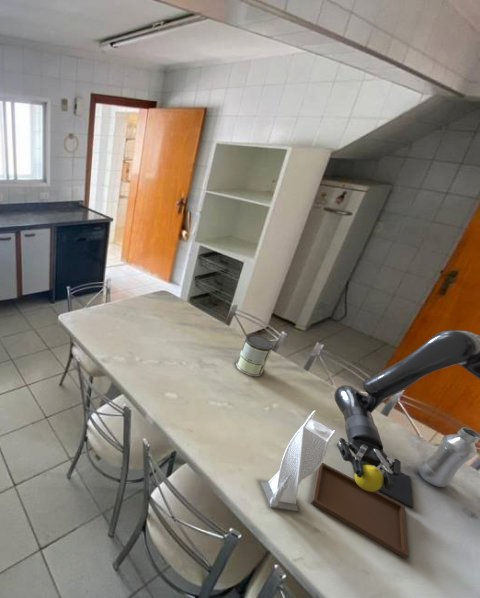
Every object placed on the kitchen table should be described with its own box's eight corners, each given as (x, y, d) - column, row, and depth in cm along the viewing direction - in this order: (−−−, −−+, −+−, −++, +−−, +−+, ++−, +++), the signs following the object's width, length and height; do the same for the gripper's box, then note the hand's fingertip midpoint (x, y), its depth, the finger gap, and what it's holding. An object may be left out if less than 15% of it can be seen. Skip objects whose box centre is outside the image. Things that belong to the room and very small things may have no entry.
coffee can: (233, 359, 145) (243, 332, 138) (257, 363, 143) (268, 336, 137) (239, 374, 136) (249, 346, 129) (265, 378, 134) (277, 350, 128)
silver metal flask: (439, 493, 94) (483, 446, 85) (410, 473, 99) (449, 426, 90) (449, 485, 96) (494, 439, 87) (421, 466, 102) (460, 420, 93)
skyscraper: (258, 477, 94) (295, 406, 81) (287, 481, 94) (329, 411, 81) (270, 507, 87) (313, 434, 74) (302, 512, 86) (350, 439, 73)
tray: (401, 509, 89) (404, 505, 88) (405, 559, 78) (408, 556, 77) (318, 464, 100) (320, 461, 99) (311, 503, 89) (313, 499, 88)
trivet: (408, 477, 98) (409, 476, 98) (411, 508, 89) (413, 507, 89) (359, 453, 104) (360, 452, 104) (358, 480, 96) (359, 478, 96)
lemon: (351, 474, 92) (364, 455, 88) (376, 488, 88) (391, 469, 85) (347, 486, 88) (360, 467, 85) (372, 502, 85) (387, 482, 81)
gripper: (339, 415, 98) (347, 457, 85) (400, 436, 92) (419, 486, 79) (328, 432, 101) (335, 476, 88) (386, 454, 95) (403, 505, 82)
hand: (374, 480), depth 83 cm, fingers closed on lemon, 5 cm apart
